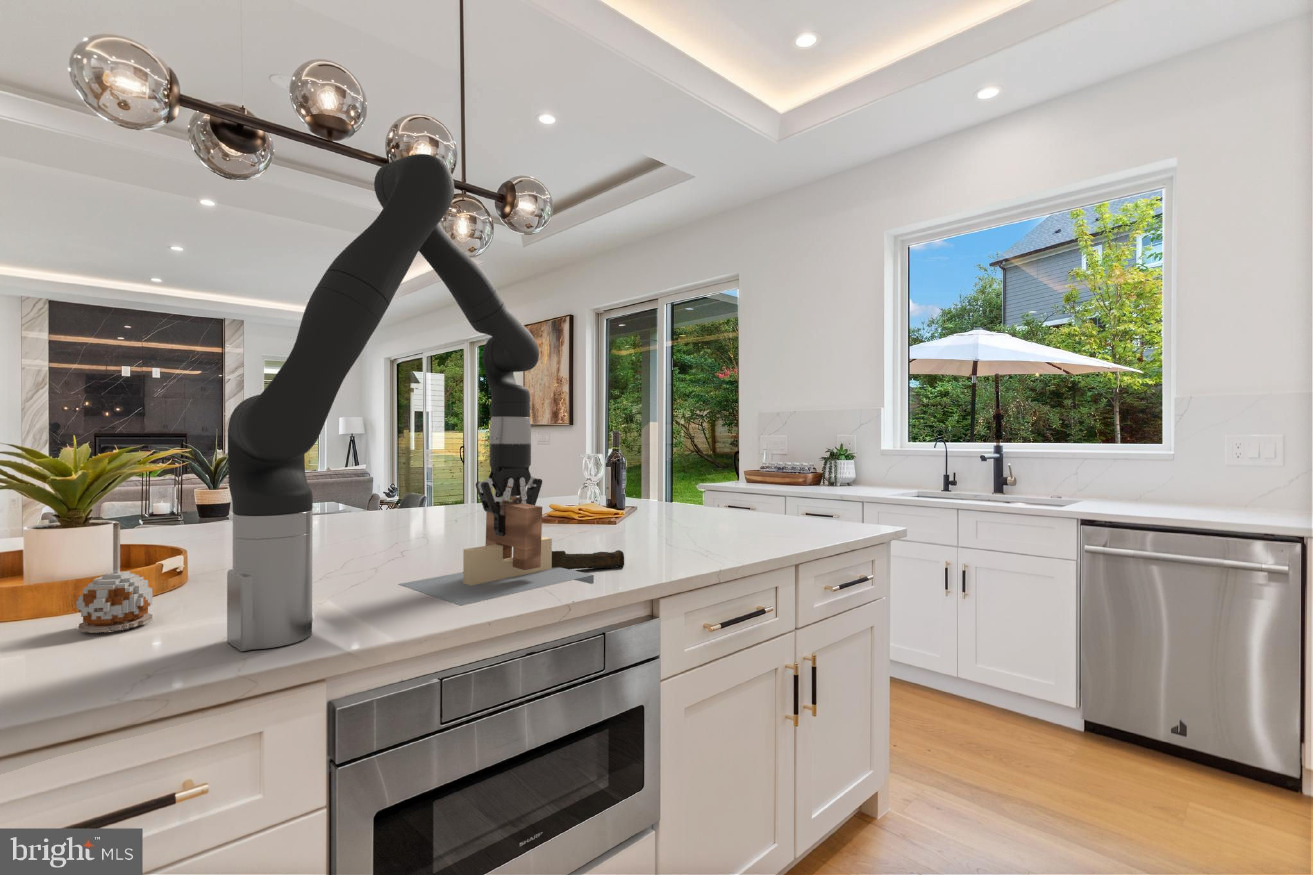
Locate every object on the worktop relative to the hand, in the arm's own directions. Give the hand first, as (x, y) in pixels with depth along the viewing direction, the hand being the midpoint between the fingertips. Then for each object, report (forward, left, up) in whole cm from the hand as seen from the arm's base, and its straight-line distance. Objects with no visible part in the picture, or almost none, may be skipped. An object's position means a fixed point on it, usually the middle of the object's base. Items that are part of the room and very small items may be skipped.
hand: (509, 533), depth 116 cm
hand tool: (+16, -2, -10) cm, 19 cm away
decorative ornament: (-53, +20, -10) cm, 57 cm away
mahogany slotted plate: (0, -1, -5) cm, 5 cm away
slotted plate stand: (-3, -1, -9) cm, 10 cm away
